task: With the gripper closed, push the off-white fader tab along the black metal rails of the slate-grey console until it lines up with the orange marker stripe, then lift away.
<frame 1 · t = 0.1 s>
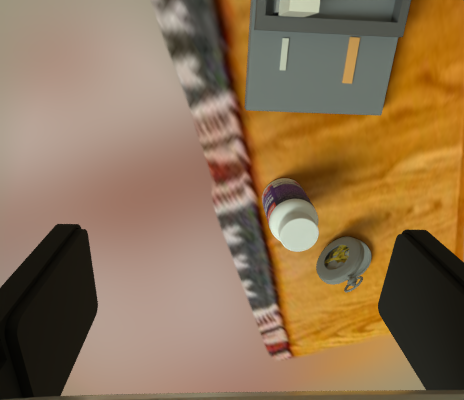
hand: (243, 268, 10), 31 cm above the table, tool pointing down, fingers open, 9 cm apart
pill bottle: (282, 196, 44), on the table
pocket watch: (340, 250, 48), on the table
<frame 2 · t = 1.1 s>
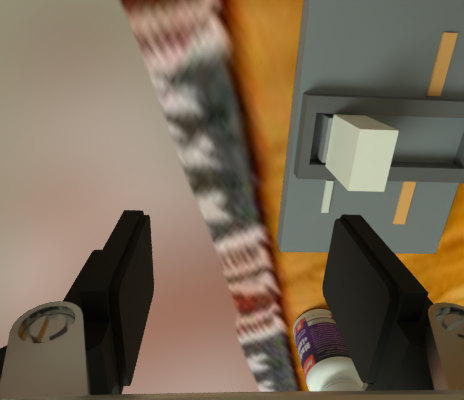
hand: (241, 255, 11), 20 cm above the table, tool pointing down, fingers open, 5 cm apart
console: (374, 132, 30), on the table
pill bottle: (315, 324, 39), on the table
fader: (353, 147, 24), point 5 cm above the table, slide at -4.0 cm
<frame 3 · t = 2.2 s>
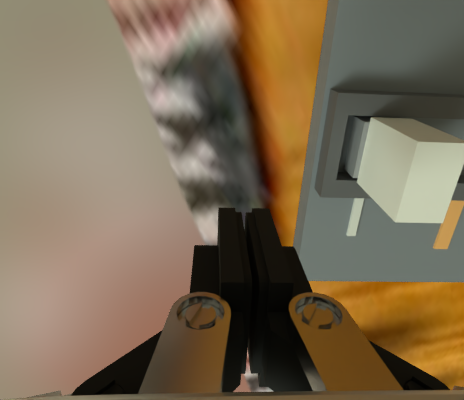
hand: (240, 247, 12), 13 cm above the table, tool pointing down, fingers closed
console: (415, 136, 24), on the table
fader: (397, 161, 19), point 5 cm above the table, slide at -4.0 cm
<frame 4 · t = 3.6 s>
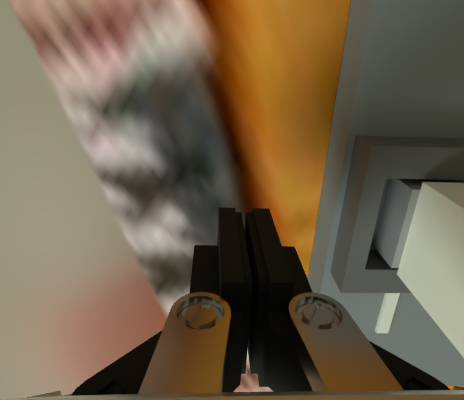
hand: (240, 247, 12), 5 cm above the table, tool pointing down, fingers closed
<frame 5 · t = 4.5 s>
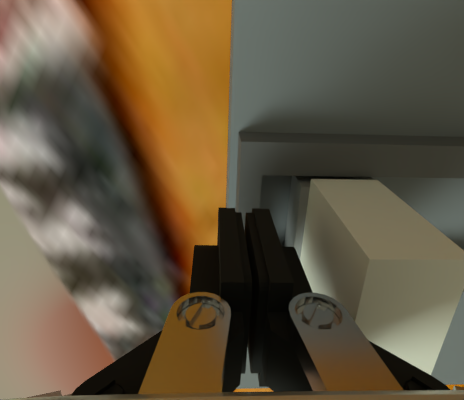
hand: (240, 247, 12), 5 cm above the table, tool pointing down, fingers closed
console: (381, 191, 17), on the table
fader: (352, 253, 11), point 6 cm above the table, slide at -3.5 cm, touching gripper
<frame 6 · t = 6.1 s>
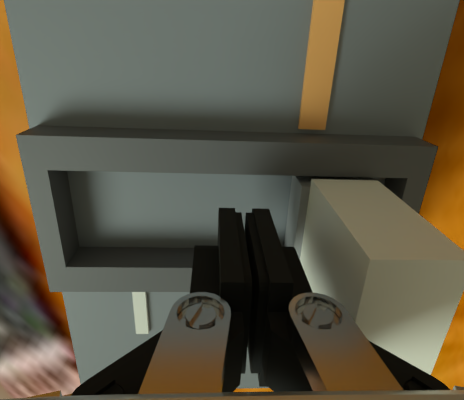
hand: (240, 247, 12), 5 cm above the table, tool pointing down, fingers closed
console: (227, 189, 16), on the table
fader: (352, 254, 11), point 6 cm above the table, slide at 3.9 cm, touching gripper
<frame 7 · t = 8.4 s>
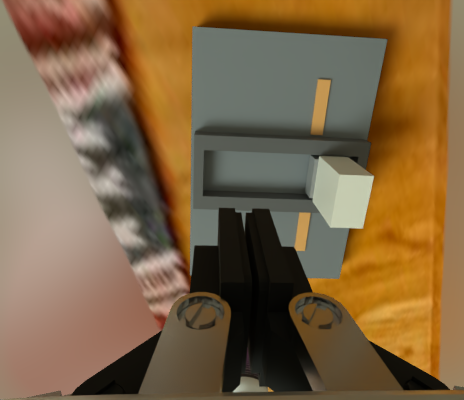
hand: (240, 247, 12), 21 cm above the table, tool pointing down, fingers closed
console: (273, 165, 32), on the table
pill bottle: (237, 344, 40), on the table
fader: (336, 186, 27), point 6 cm above the table, slide at 4.2 cm
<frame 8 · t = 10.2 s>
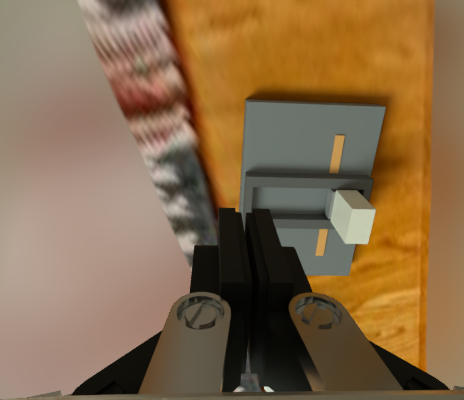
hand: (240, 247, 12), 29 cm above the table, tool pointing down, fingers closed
console: (300, 192, 43), on the table
fader: (348, 212, 38), point 6 cm above the table, slide at 4.2 cm
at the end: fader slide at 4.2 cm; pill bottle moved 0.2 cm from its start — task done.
